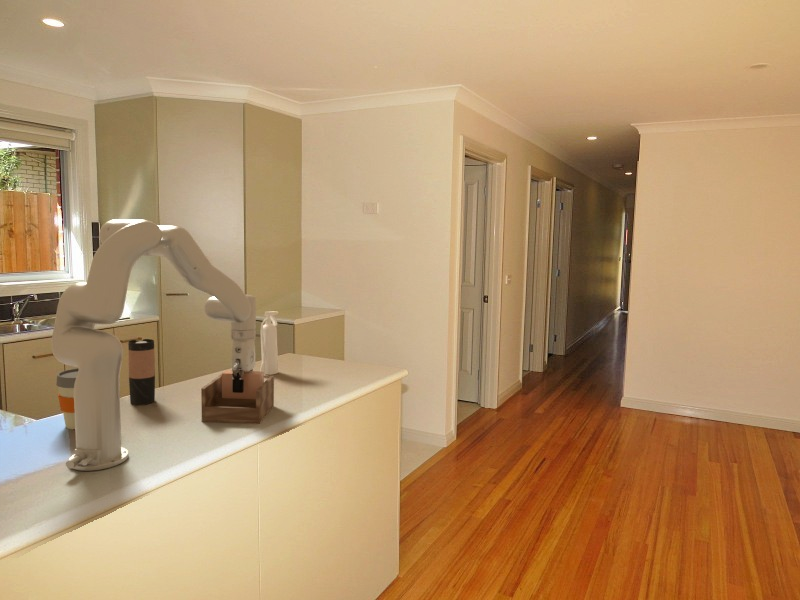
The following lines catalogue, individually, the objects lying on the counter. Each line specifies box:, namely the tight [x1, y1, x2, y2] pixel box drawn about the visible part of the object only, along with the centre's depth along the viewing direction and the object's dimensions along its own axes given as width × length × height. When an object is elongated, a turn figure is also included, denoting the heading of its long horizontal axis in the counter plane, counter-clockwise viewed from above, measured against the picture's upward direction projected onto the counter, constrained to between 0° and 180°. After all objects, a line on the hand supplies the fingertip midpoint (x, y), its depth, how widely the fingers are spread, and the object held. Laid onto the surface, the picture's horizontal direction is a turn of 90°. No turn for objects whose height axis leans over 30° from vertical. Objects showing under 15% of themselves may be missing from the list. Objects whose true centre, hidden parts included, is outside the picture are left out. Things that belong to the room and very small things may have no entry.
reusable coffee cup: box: [55, 367, 79, 430], centre depth 154 cm, size 13×13×15 cm
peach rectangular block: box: [221, 369, 265, 399], centre depth 172 cm, size 4×12×11 cm, turn 89°
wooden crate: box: [200, 373, 275, 425], centre depth 168 cm, size 17×17×10 cm
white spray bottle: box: [259, 310, 279, 376], centre depth 217 cm, size 7×12×25 cm, turn 157°
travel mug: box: [127, 338, 156, 406], centre depth 176 cm, size 8×8×20 cm
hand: (242, 388), depth 172 cm, fingers open, 9 cm apart
